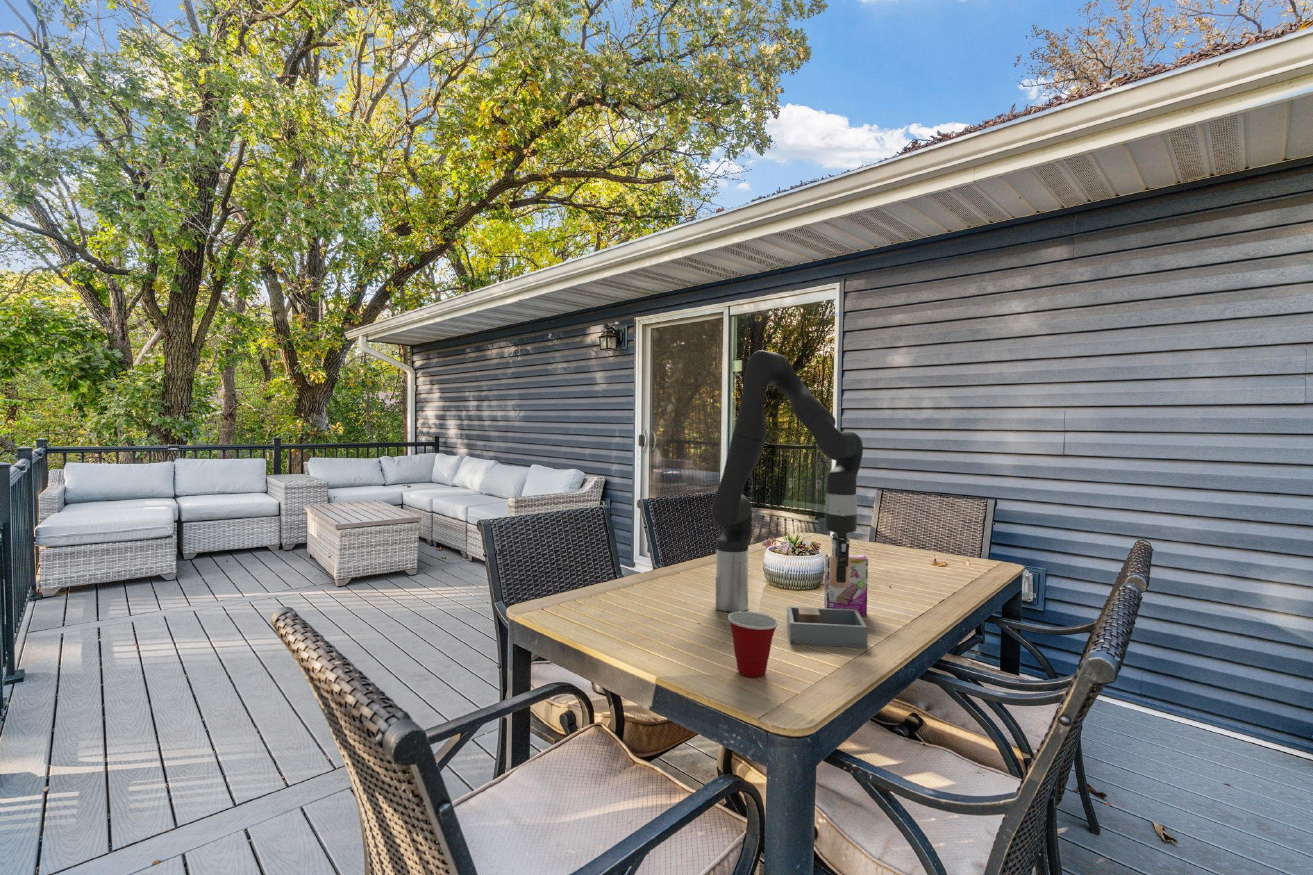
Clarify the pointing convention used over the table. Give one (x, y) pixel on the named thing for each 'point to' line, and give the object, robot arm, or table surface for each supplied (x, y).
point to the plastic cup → (752, 641)
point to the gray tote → (828, 628)
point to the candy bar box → (851, 595)
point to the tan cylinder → (833, 573)
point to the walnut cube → (808, 615)
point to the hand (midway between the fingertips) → (839, 579)
